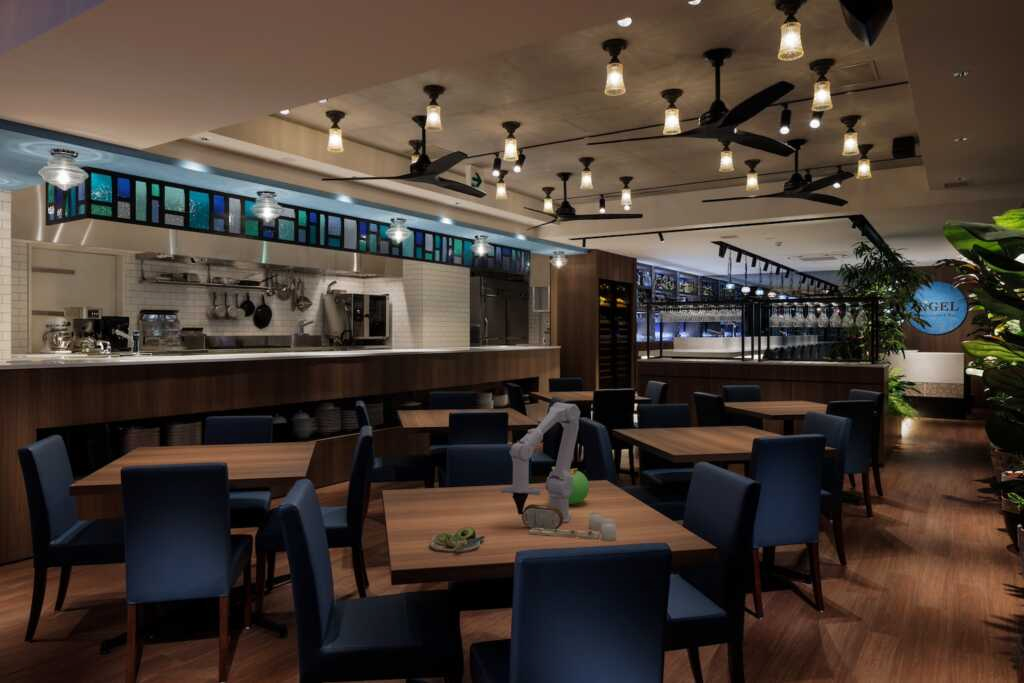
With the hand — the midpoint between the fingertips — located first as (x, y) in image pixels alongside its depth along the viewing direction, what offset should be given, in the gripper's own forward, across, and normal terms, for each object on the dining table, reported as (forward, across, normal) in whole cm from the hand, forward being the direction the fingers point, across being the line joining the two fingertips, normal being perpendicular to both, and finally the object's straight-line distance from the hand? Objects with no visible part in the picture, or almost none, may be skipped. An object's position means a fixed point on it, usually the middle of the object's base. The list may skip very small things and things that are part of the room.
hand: (520, 513), depth 250 cm
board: (+5, +17, -6) cm, 18 cm away
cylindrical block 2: (+5, +31, +1) cm, 32 cm away
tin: (+5, +8, 0) cm, 10 cm away
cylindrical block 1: (+5, +27, +6) cm, 28 cm away
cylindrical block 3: (+5, +32, -6) cm, 33 cm away
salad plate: (+6, -16, -26) cm, 31 cm away
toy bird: (+5, +12, +42) cm, 43 cm away
